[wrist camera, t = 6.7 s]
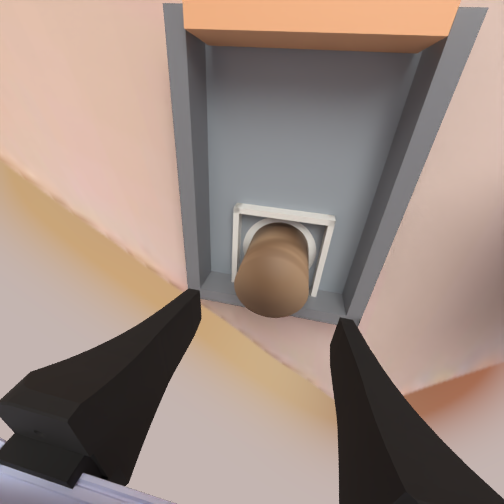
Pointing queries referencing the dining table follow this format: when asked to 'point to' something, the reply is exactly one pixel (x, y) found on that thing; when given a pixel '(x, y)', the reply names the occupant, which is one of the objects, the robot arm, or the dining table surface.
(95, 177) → the dining table surface
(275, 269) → the brown rounded block
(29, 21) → the dining table surface
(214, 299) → the housing
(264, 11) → the gate
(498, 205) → the dining table surface
